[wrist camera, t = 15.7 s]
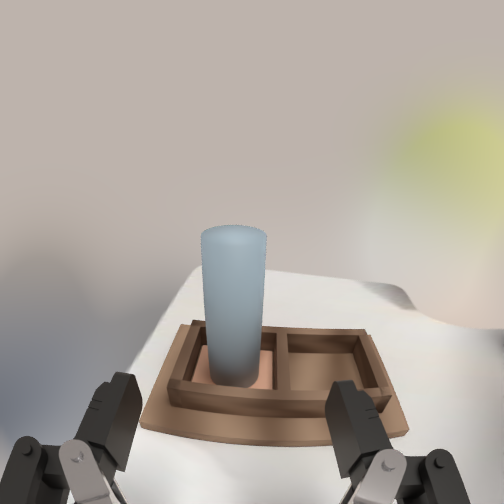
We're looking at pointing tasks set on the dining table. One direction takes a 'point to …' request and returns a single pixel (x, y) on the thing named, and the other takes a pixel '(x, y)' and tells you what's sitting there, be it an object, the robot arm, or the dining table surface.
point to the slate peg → (233, 301)
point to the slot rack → (269, 388)
